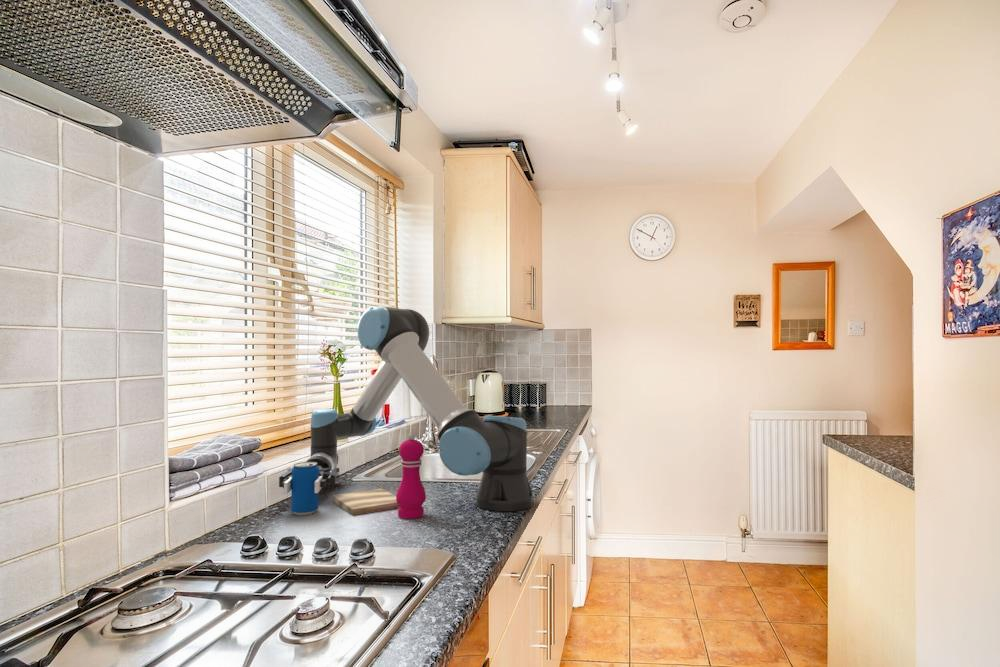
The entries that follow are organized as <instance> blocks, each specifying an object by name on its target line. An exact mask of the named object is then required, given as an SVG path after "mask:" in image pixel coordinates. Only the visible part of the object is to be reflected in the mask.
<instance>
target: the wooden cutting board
mask: <svg viewBox="0 0 1000 667" xmlns="http://www.w3.org/2000/svg"><path fill="white" fill-rule="evenodd" d="M333 501H334V502H335V504H336V505H337V504H338V505H337V506H338V507H340V508H341V507H342V508H341V509H343V510H344V511H346V513H348V514H350V515H351V516H356V515H357V516H358V515H361V514H362V515H363V514H368V513H375V512H382V511H387V510H394V509H398V508H399V507H400V505H399V504H398V503H397V501H396V494H393V493H391V492H390V491H387V490H386V489H384V488H378V489H371V490H370V489H369V490H362V491H356V492H348V493H341V494H339V493H338V494H333V495H332V502H333ZM334 502H333V503H334Z"/></svg>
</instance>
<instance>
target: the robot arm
mask: <svg viewBox="0 0 1000 667" xmlns="http://www.w3.org/2000/svg"><path fill="white" fill-rule="evenodd" d="M429 338H430V328H429V324H428V322H427V320H426V318H425V317H424V316H423V315H422V314H421V313H419V312H418V311H416V310H414V309H411V308H410V309H408V308H407V309H406V308H398V307H390V306H383V305H382V306H381V305H380V306H372V307H369V308H367V309H366V310H365V311H364V312H363V314H361V317H360V319H359V321H358V324H357V339H358V341H359V343H360V345H361V346H362V347H363V348H364V349H366V350H368V351H375V352H376V353H377V355H378V357H380V358H381V363H380V364H379V367H378V368H377V369H376V372H374V374H373V376H372V377H371V379H370V380H369V382H368V384H367V385H366V387H365V389H364V390H363V391H362V393H361V394H360V396H359V398H358V400H356V402H355V404H354V405H353V407H352V409H351V410H350V412H347V413H338V410H337V409H334V408H320V409H319V408H317V409H314V410H313V411H312V412H311V418H310V457H309V458H308V459H307V460H306V461H305V462H316V463H317V466H318V467H319V478H318V479H317V480H316V481H315V493H318V492H319V493H320V491H321V490H322V488H325V487H327V486H328V485H330V486H335V485H336V482H337V480H338V479H339V478H340V467H338V466H337V465H338V464H339V454H338V452H337V451H338V440H341V439H346V438H355V437H363V436H366V435H370V434H372V433H373V432H374V431H375V429H376V425H377V418H376V417H377V415H378V414H379V413H380V411H381V409H382V408H383V406H384V405H385V403H386V402H387V400H388V399H389V397H390V396H391V394H392V393H393V392H394V391H395V388H396V387H397V385H398V384H399V382H400V381H401V379H402V380H403V381H404V383H405V384H406V386H407V387H408V388H409V390H410V391H411V393H412V394H413V395H414V397H415V398H416V399H417V401H418V402H419V403H420V405H421V407H422V408H423V410H424V411H425V412H426V414H427V415H428V417H429V418H430V419H431V421H432V423H434V425H435V426H436V428H437V430H438V431H437V435H436V439H437V440H438V441H439V443H438V449H439V452H438V454H439V457H440V460H441V462H442V464H443V465H444V467H446V469H448V470H449V471H450V472H451V473H453V474H456V475H458V476H462V477H463V476H465V477H466V476H473V475H474V476H476V475H479V474H481V473H482V474H481V477H480V478H481V479H480V481H479V484H478V489H477V492H476V496H475V505H476V506H477V507H479V508H480V509H484V510H487V511H491V512H492V511H493V512H494V511H495V512H514V511H515V512H517V511H523V510H526V509H529V508H531V507H533V505H534V493H533V491H532V487H531V484H530V481H529V478H528V474H527V473H528V472H527V471H528V470H527V463H528V462H527V455H528V454H527V453H528V450H527V448H528V446H527V444H528V441H527V436H528V435H527V434H528V431H527V421H526V420H525V419H524V418H522V417H514V416H513V417H512V416H500V415H499V416H498V415H487V414H486V415H484V416H483V417H480V415H479V414H478V413H477V411H476V410H475V409H473V408H466V407H465V405H464V404H463V402H462V401H461V400H460V398H459V397H458V396H457V395H456V393H455V392H454V391H453V389H452V388H451V387H450V385H449V384H448V383H447V381H446V380H445V379H444V377H443V376H442V374H440V372H439V370H438V369H437V368H436V366H434V364H433V362H432V361H431V360H430V358H429V357H428V356H427V354H426V353H425V352H424V351H425V349H426V347H427V344H428V342H429ZM291 483H292V469H291V468H289V469H287V471H286V472H284V473H283V474H282V475H280V476H278V487H279V488H282V489H283V495H288V494H289V493H291Z"/></svg>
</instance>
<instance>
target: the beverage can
mask: <svg viewBox="0 0 1000 667" xmlns="http://www.w3.org/2000/svg"><path fill="white" fill-rule="evenodd" d="M318 478H319V467H318V466H317V463H316V462H306V461H302V462H301V461H300V462H296V463H294V464H293V467H292V483H291V491H290V495H291V496H290V501H291V502H290V511H291V513H293V514H294V515H296V516H308V514H309V515H312V513H313V514H315V513H316V512H317V511H318V510H319V509H320V507H319V505H320V504H319V501H320V500H319V498H320V496H319V493H320V491H319V492H318V493H315V481H316V480H317V479H318ZM314 512H315V513H314Z"/></svg>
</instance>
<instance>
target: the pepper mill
mask: <svg viewBox="0 0 1000 667" xmlns="http://www.w3.org/2000/svg"><path fill="white" fill-rule="evenodd" d="M398 454H399V456H400V457H401V460H400V466H401V467H402V477H401V481H400V484H399V486H398V488H397V491H396V494H395V496H396V501H397V503H398V504H399V505H400V507H399V508H397V517H398V518H400V519H403V518H404V520H412V519H414V518H416V519H420V518H422V517H423V516H424V515H425V513H424V512H425V510H424V509H425V507H423V504H424V503H425V502H426V500H427V496H426V494H427V493H426V490H425V488H424V485H423V482H422V480H421V477H420V476H421V474H420V469H421V468H420V467H421V466H422V459H421V458H422V456H423V454H424V446H423V444H422V442H420V441H419V440H417V439H416V435H415V434H414V433H408V435H407V440H404V441H403V442H401V443H400V446H399V447H398ZM419 517H420V518H419Z"/></svg>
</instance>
